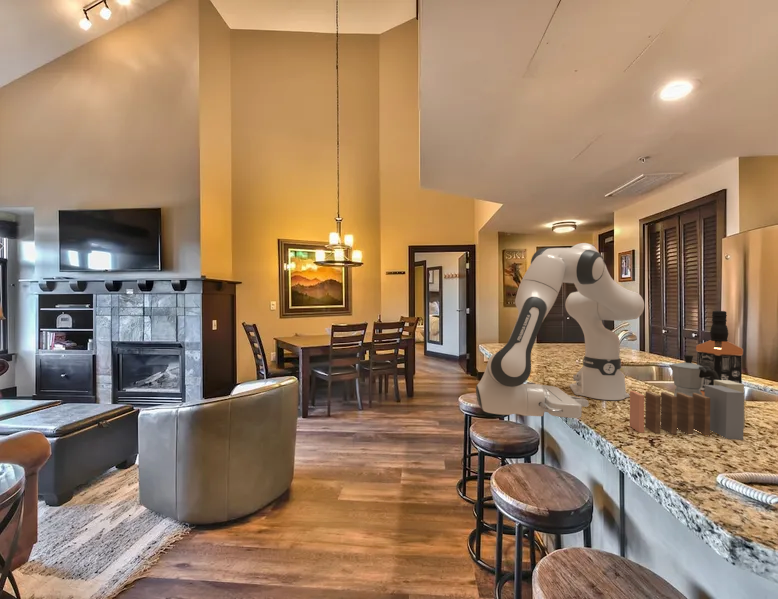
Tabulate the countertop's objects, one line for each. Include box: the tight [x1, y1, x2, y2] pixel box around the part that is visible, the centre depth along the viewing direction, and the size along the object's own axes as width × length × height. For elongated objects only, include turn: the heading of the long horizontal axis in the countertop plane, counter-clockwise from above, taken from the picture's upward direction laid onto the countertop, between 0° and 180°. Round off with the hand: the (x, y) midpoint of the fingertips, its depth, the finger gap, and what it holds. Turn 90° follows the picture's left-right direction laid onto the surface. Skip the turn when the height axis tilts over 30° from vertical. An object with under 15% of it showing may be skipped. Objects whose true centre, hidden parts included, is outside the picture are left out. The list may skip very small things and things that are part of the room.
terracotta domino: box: [629, 390, 645, 434], centre depth 103 cm, size 1×5×10 cm, turn 173°
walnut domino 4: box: [692, 393, 711, 437], centre depth 101 cm, size 1×5×10 cm, turn 173°
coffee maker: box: [668, 354, 720, 397], centre depth 120 cm, size 15×9×18 cm, turn 18°
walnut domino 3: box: [677, 393, 694, 435], centre depth 102 cm, size 1×5×10 cm, turn 173°
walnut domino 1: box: [644, 391, 661, 434], centre depth 103 cm, size 1×5×10 cm, turn 172°
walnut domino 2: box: [660, 391, 678, 435], centre depth 102 cm, size 1×5×10 cm, turn 173°
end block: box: [705, 385, 745, 441], centre depth 101 cm, size 8×4×12 cm, turn 173°
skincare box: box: [714, 380, 746, 428], centre depth 109 cm, size 6×4×12 cm
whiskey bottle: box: [695, 310, 744, 396], centre depth 129 cm, size 10×10×32 cm
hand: (586, 402), depth 105 cm, fingers closed
